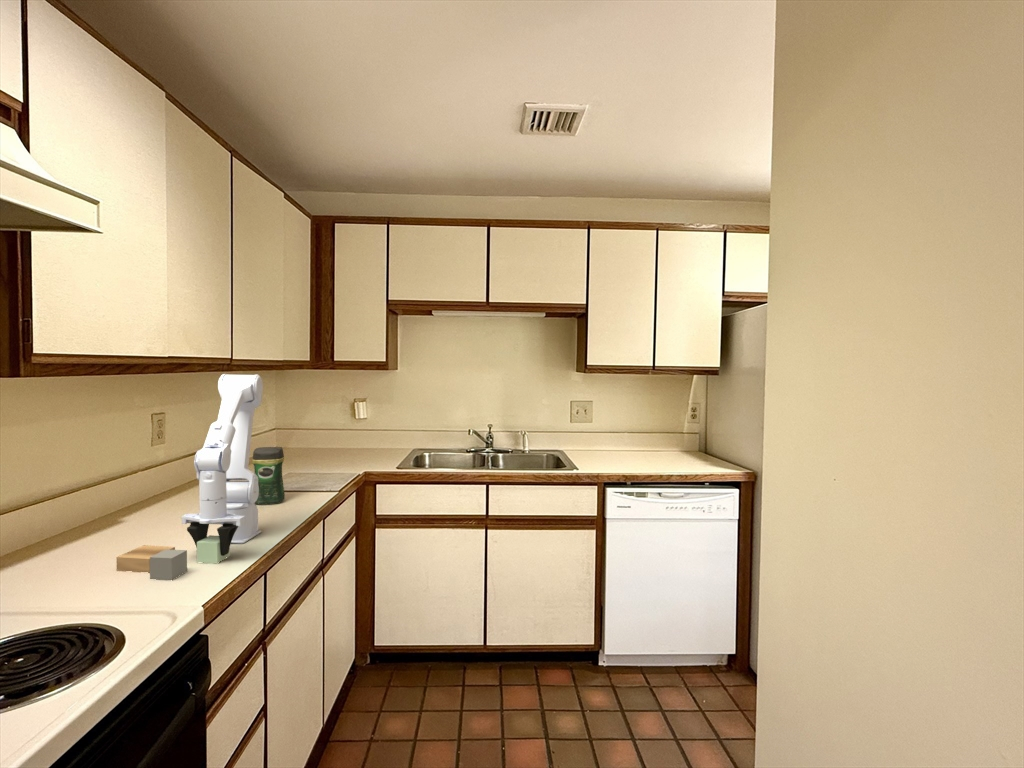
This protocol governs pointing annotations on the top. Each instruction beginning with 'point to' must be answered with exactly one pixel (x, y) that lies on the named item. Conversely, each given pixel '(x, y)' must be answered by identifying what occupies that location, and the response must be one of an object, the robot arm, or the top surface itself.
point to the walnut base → (139, 558)
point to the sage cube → (210, 550)
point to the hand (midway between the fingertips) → (213, 553)
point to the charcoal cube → (168, 564)
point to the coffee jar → (269, 474)
